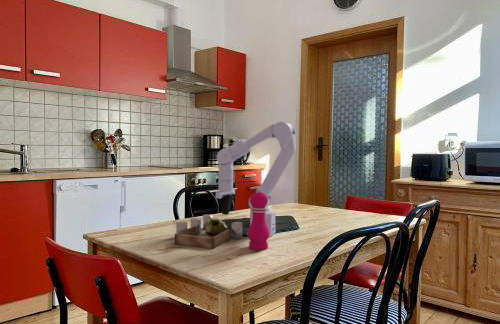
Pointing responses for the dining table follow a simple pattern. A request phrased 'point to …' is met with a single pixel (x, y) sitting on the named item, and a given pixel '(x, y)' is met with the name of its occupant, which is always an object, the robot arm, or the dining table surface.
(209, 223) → the pale green lumpy ball
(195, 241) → the tray
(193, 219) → the tin right near
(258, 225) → the pepper mill
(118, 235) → the dining table surface
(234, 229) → the tin left
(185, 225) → the tin right far
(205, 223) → the grey metal cylinder
